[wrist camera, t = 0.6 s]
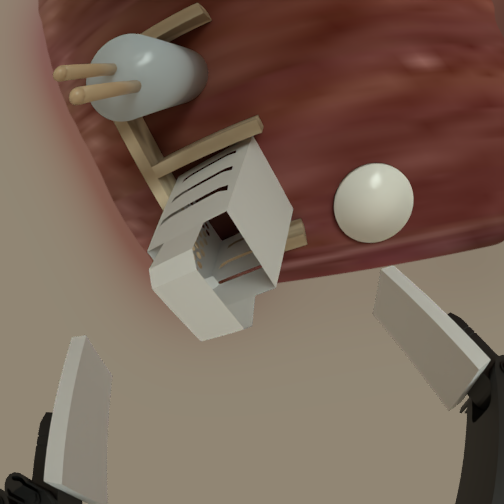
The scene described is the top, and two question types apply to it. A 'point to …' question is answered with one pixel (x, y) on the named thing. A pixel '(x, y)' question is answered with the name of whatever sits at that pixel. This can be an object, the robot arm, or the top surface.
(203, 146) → the rack
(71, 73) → the utensil crock
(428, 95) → the top surface
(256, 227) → the grater
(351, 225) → the plate
